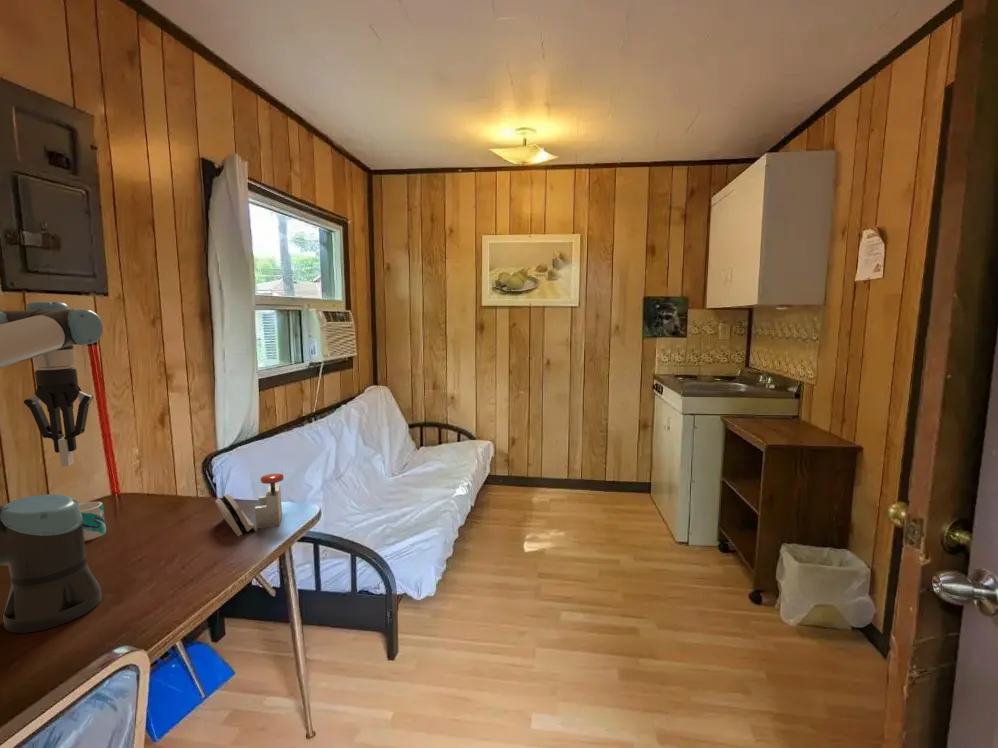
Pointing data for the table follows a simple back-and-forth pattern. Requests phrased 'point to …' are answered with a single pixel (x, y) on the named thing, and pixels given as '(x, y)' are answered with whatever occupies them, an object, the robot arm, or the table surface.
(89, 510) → the mug
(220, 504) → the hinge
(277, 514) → the valve body
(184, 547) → the table surface
